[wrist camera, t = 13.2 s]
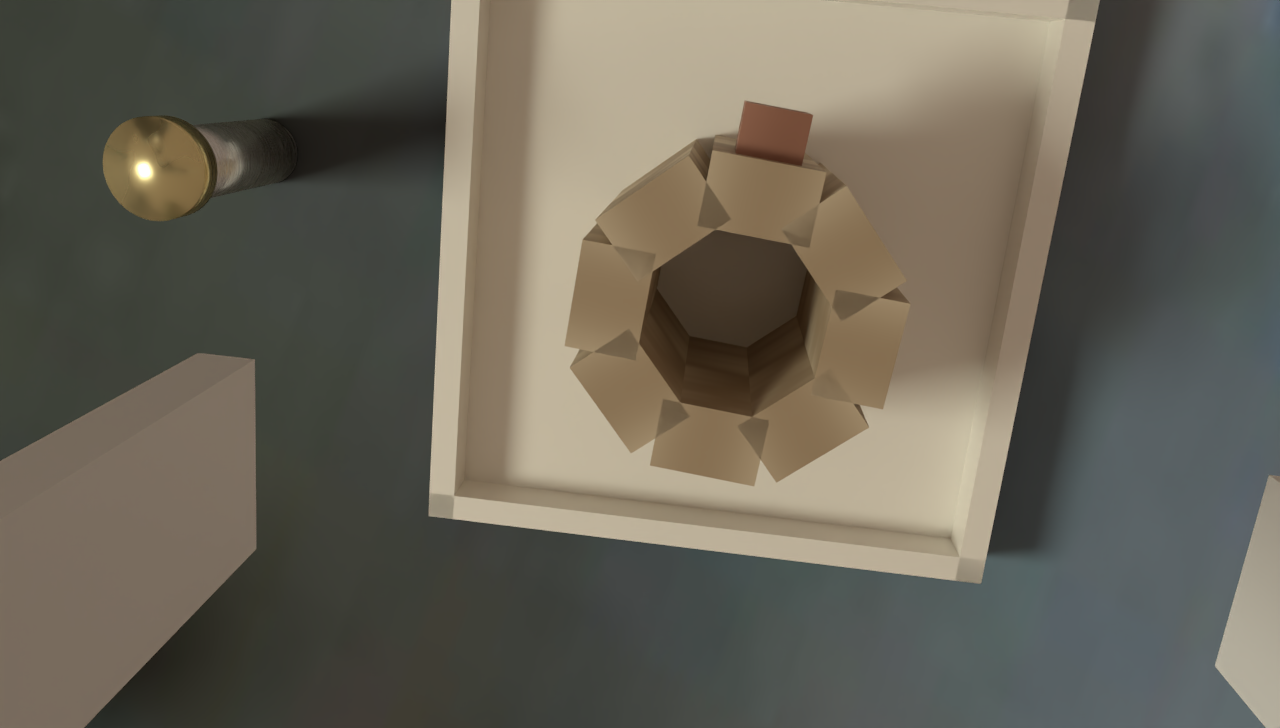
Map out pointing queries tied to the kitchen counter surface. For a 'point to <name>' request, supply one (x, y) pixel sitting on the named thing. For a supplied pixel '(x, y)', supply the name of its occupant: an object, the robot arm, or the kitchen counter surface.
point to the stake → (192, 162)
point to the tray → (750, 255)
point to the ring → (724, 373)
